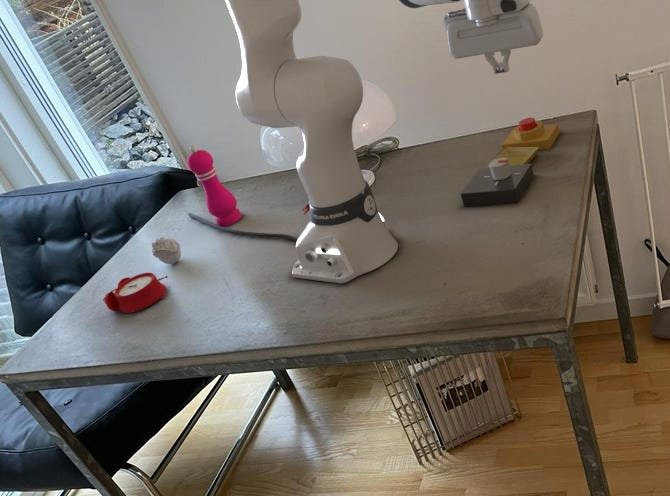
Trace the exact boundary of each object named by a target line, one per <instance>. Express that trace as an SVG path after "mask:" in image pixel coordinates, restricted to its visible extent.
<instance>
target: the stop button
mask: <svg viewBox="0 0 670 496" xmlns="http://www.w3.org/2000/svg"><path fill="white" fill-rule="evenodd" d="M535 120H536V119H535V118H534V117H526V118H523V119H521V120H519V122H518V126H520V130H521V131H528V130H531V129H533V128H535V127H536V123H535Z"/></svg>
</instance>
